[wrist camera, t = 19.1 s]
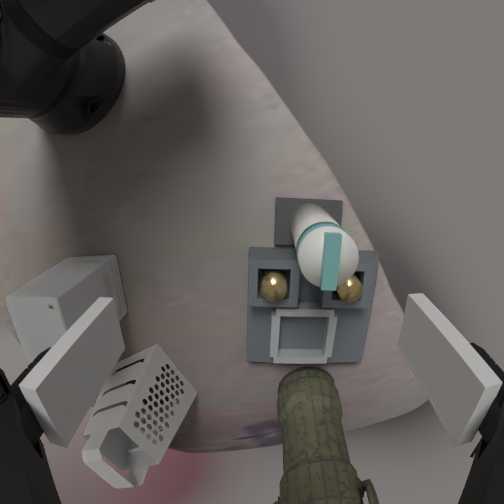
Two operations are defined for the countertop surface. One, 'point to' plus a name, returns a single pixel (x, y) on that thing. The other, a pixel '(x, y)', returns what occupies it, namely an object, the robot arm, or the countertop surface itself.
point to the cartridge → (322, 247)
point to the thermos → (316, 443)
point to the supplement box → (62, 299)
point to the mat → (286, 209)
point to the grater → (135, 418)
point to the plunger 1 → (273, 284)
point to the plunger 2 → (350, 290)
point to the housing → (306, 313)
